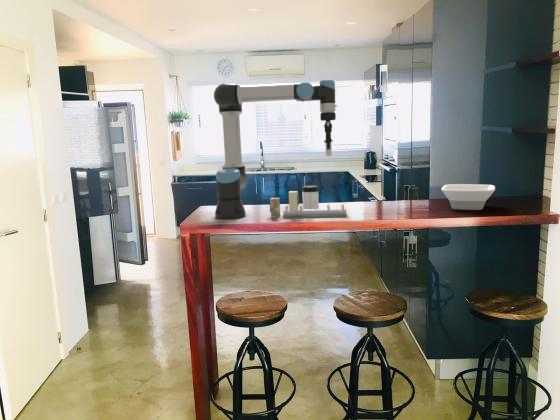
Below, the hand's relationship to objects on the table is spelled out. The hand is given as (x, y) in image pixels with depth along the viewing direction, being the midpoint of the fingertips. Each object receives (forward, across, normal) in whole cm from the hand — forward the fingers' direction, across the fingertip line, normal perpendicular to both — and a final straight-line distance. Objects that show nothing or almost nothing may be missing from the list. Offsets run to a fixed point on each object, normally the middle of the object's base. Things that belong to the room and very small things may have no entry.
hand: (328, 155), depth 231 cm
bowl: (+28, +1, -68) cm, 74 cm away
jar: (+28, +5, +10) cm, 30 cm away
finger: (+28, -16, +26) cm, 41 cm away
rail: (+28, -16, +7) cm, 33 cm away
